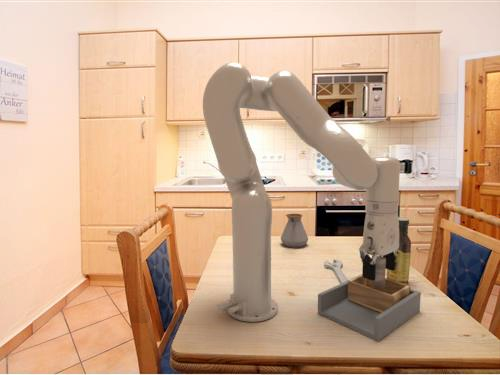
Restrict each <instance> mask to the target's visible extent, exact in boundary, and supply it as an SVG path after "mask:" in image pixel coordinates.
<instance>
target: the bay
mask: <svg viewBox="0 0 500 375" xmlns="http://www.w3.org/2000/svg"><path fill="white" fill-rule="evenodd" d="M360 275H362V273H361V274H359V275H357V276H355V277H352V278H350V279H348V281H349V280H351V279H354V278H356V277H358V276H360ZM348 281H346V282H344V283H341V284H340V283H339V284H337V285H335V286H332V287H331V288H328V289H326V290H324V291H321V292H319V293H318V294H317V314H318V315H321V316H323V317H325V318H328V320H331V321H333V322H335V323H337V324H340V325H342V326H343V327H346V328H348V329H351V330H353V331H355V332H357V333H359V334H361V335H363V336H365V337H368V338H370V339H372V340H374V341H377V342H380V341H381V340H383V338H385V337H386V336H388V335H389V334H391V333H392V332H393V331H395V330H396V329H397V328H399V327H400V326H401V325H402V324H404V323H406V322H407V321H408V320H409V319H411V318H412V317H414V316H415V315H417V314H418V313H419V312H420V310H421V295H422V294H421V291H419V290H415V289H413V288H410V295H409V296H407V297H406V298H404V299H403V300H401V301H400V302H398V303H396V304H395V305H393V306H392V307H390V308H389V309H387V310H385V311H384V312H382V313H381V312H378V311H376V310H373V309H371V308H368V307H366V306H363V305H360V304H358V303H355V302H353V301H350V300H348V299H347V298H348Z"/></svg>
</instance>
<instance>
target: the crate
mask: <svg viewBox="0 0 500 375" xmlns="http://www.w3.org/2000/svg"><path fill="white" fill-rule="evenodd" d="M374 264H376V277H375V280H374V281H373V280H369V279H366V278H363V276H362V275H361V274H359V275H360V276H359V275H357V276H358V277H357V276H355V277H356V278H354V277H353V278H354V279H352V278H350V279H351V280H350V279H348V280H349V281H348V298H347V299H348V300H350V301H353V302H355V303H358V304H360V305H363V306H366V307H368V308H371V309H373V310H376V311H378V312H381V313H382V312H384V311H385V310H387V309H389V308H390V307H392V306H393V305H395V304H396V303H398V302H400V301H401V300H403V299H404V298H406V297H407V296H409V295H410V289H411V285H408V284H407V285H406V284H403V283H399V282H396V281H393V280H390V279H387V277H386V272H387V269H386V258H385V257H383V256H379V255H377V258H376V260H375V263H374Z"/></svg>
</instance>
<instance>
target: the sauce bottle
mask: <svg viewBox="0 0 500 375" xmlns="http://www.w3.org/2000/svg"><path fill="white" fill-rule="evenodd" d="M398 219H399V248H398V249H397V250H396V251H397V254H396V255H395V256H396V261H395V270H394V271H392V270H389V269H386V272H385V277H386V279H390V280H393V281H396V282H399V283H403V284H406V285H408V284H409V279H410V269H411V268H410V266H411V257H412V256H411V255H412V249H411V247H412V242H411V239H410V237H409V235H408V234H409V224H410V219H409V218H406V217H400V216H398Z"/></svg>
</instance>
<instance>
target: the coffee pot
mask: <svg viewBox="0 0 500 375" xmlns="http://www.w3.org/2000/svg"><path fill="white" fill-rule="evenodd" d="M285 216H286V217H287V219H288V220H287V223H286V224H285V227H284V229H283V232H282V234H281V236H280V241H281V242H282V243H283V244H284V245H285V247H288V248H291V249H292V248H302V247H304V246H305V245H306V244H308V242H309V236H308V234H307V233H306V230H305V226H304V225H303V222H302V217H303V214H302V213H288V214H285Z"/></svg>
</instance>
